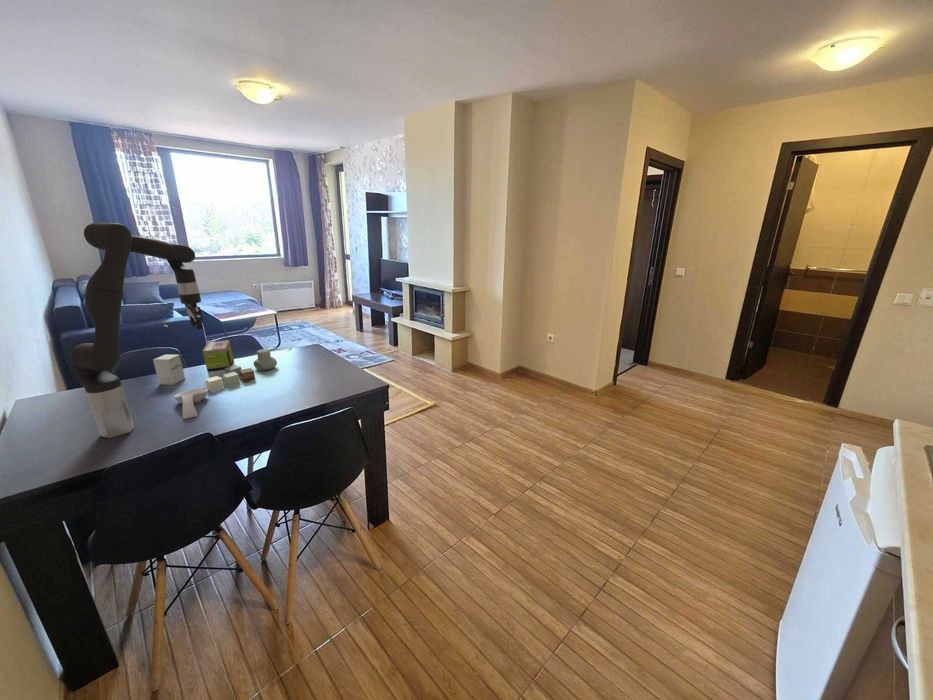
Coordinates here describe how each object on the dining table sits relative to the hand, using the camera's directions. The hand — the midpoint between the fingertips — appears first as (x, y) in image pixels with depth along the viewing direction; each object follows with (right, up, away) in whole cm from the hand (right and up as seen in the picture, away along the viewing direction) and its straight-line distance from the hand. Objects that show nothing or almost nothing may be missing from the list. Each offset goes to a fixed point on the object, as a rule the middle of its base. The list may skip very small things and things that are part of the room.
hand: (197, 327), depth 173 cm
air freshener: (+19, -20, +24) cm, 37 cm away
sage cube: (+13, -27, +5) cm, 30 cm away
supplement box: (-17, -26, +7) cm, 31 cm away
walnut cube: (+18, -25, +10) cm, 32 cm away
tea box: (0, -22, +19) cm, 29 cm away
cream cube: (+9, -28, 0) cm, 30 cm away
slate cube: (+9, -24, +13) cm, 29 cm away
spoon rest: (+10, -34, -17) cm, 39 cm away
